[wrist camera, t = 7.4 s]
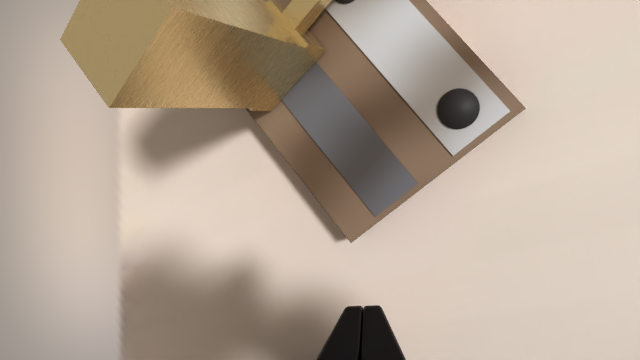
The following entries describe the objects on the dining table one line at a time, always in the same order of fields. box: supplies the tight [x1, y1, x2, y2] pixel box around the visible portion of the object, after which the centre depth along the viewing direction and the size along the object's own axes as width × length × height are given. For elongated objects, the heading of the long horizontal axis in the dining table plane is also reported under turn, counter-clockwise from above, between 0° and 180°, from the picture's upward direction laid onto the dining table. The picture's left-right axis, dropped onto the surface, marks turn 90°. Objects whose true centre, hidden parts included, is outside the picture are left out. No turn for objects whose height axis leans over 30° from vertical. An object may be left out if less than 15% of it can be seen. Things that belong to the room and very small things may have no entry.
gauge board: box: [246, 0, 525, 243], centre depth 16 cm, size 20×10×12 cm, turn 43°
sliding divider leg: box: [60, 0, 332, 111], centre depth 16 cm, size 3×8×10 cm, turn 133°
